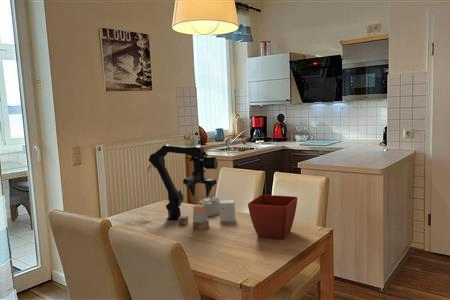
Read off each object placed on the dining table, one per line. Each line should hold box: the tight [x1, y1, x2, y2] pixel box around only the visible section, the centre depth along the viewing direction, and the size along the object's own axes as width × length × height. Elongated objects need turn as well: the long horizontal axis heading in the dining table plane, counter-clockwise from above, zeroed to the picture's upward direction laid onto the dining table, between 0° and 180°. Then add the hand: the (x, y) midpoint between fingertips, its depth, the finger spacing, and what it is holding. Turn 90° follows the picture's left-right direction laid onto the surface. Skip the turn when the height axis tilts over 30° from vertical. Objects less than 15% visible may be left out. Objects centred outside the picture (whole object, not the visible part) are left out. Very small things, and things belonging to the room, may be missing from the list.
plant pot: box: [247, 194, 298, 240], centre depth 190 cm, size 19×19×17 cm
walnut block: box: [177, 215, 189, 226], centre depth 213 cm, size 4×4×4 cm
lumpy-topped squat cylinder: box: [198, 196, 223, 217], centre depth 231 cm, size 10×13×9 cm
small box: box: [219, 199, 236, 223], centre depth 215 cm, size 8×6×10 cm
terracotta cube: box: [192, 204, 206, 215], centre depth 203 cm, size 4×4×4 cm
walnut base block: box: [192, 219, 210, 231], centre depth 205 cm, size 6×6×4 cm
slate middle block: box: [192, 213, 208, 223], centre depth 204 cm, size 5×5×4 cm
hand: (200, 196), depth 217 cm, fingers open, 9 cm apart
